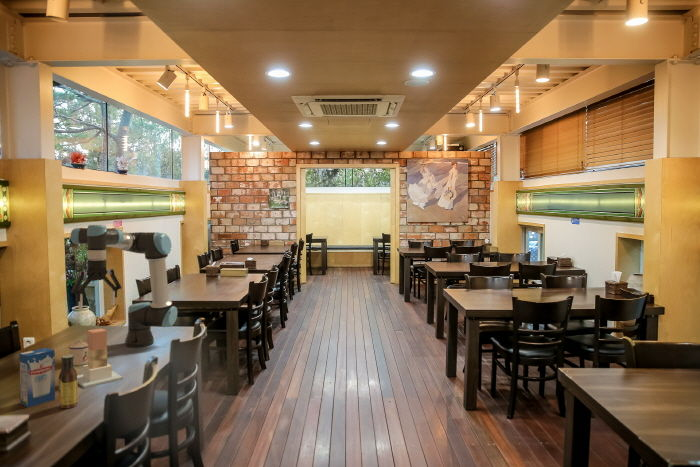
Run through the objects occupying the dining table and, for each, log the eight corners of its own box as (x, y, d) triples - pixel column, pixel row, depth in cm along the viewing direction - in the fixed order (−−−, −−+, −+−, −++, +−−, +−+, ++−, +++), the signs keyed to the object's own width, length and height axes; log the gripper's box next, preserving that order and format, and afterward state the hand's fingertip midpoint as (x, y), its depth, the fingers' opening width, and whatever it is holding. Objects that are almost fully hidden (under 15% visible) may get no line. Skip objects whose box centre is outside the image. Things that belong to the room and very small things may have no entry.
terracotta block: (101, 345, 221) (101, 328, 221) (106, 348, 217) (106, 330, 217) (87, 348, 217) (87, 330, 216) (92, 350, 213) (92, 332, 212)
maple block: (102, 362, 222) (102, 345, 221) (107, 365, 217) (107, 348, 217) (88, 365, 217) (87, 348, 217) (92, 368, 213) (92, 350, 213)
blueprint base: (109, 370, 229) (109, 358, 228) (122, 379, 218) (122, 366, 218) (71, 378, 217) (71, 365, 217) (84, 388, 206) (84, 374, 206)
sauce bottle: (64, 403, 190) (63, 353, 189) (80, 402, 191) (80, 353, 190) (55, 409, 184) (55, 358, 183) (72, 409, 184) (72, 358, 183)
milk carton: (27, 407, 185) (27, 356, 184) (19, 404, 188) (19, 353, 187) (55, 399, 194) (54, 350, 193) (47, 396, 197) (46, 347, 196)
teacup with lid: (86, 365, 236) (86, 341, 235) (66, 366, 234) (66, 342, 233) (94, 358, 248) (93, 335, 247) (74, 359, 246) (74, 336, 245)
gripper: (122, 257, 227) (122, 302, 228) (62, 260, 209) (63, 309, 209) (128, 258, 222) (129, 304, 223) (68, 261, 203) (69, 311, 204)
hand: (97, 306), depth 216 cm, fingers open, 13 cm apart
